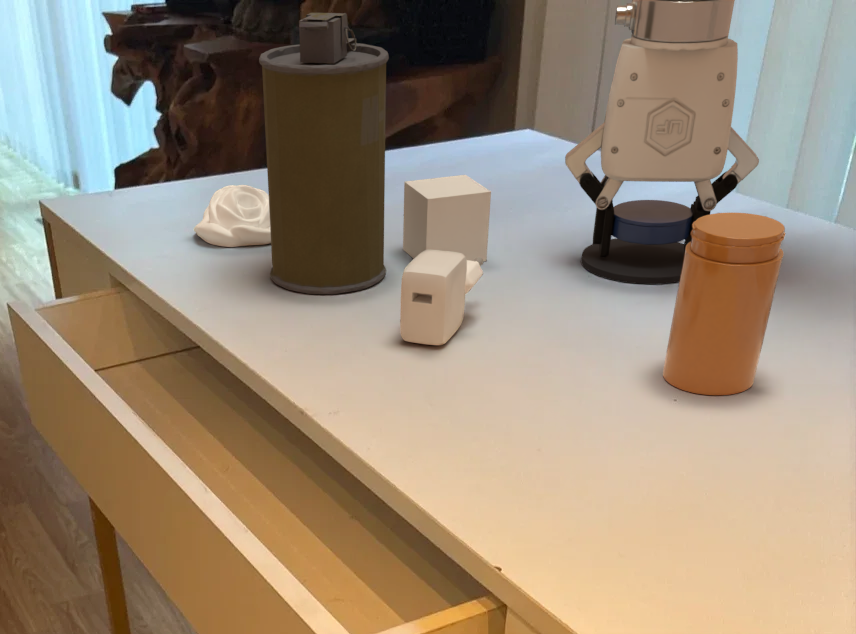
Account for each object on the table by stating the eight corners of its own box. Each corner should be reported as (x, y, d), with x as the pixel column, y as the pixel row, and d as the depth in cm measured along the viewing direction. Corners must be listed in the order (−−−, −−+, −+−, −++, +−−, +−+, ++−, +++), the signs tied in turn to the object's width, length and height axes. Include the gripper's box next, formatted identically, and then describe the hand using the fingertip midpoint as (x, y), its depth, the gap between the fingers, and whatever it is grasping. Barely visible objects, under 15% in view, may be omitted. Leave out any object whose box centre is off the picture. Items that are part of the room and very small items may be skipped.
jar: (746, 361, 84) (780, 211, 77) (760, 397, 79) (797, 241, 72) (659, 358, 85) (685, 210, 78) (666, 393, 80) (695, 239, 73)
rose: (236, 167, 113) (312, 180, 108) (239, 213, 116) (313, 228, 111) (169, 190, 107) (246, 206, 102) (174, 239, 110) (249, 256, 105)
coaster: (699, 245, 104) (700, 238, 104) (712, 285, 96) (714, 278, 96) (579, 242, 106) (580, 236, 105) (582, 282, 98) (583, 275, 97)
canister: (366, 299, 96) (367, 28, 83) (253, 289, 98) (236, 24, 86) (400, 259, 103) (406, 5, 91) (294, 250, 106) (285, 3, 93)
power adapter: (435, 296, 96) (438, 224, 92) (490, 302, 94) (495, 230, 91) (391, 343, 88) (392, 267, 84) (449, 351, 87) (454, 274, 83)
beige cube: (425, 269, 101) (427, 199, 97) (402, 249, 106) (403, 181, 102) (486, 261, 103) (491, 191, 99) (461, 241, 107) (465, 174, 103)
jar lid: (604, 220, 102) (607, 199, 101) (682, 220, 102) (686, 199, 100) (613, 245, 97) (616, 223, 96) (695, 244, 96) (699, 222, 95)
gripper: (571, 30, 87) (548, 265, 99) (804, 28, 85) (752, 269, 96) (569, 15, 93) (547, 238, 104) (787, 12, 91) (740, 241, 102)
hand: (646, 251), depth 100 cm, fingers closed on jar lid, 6 cm apart
